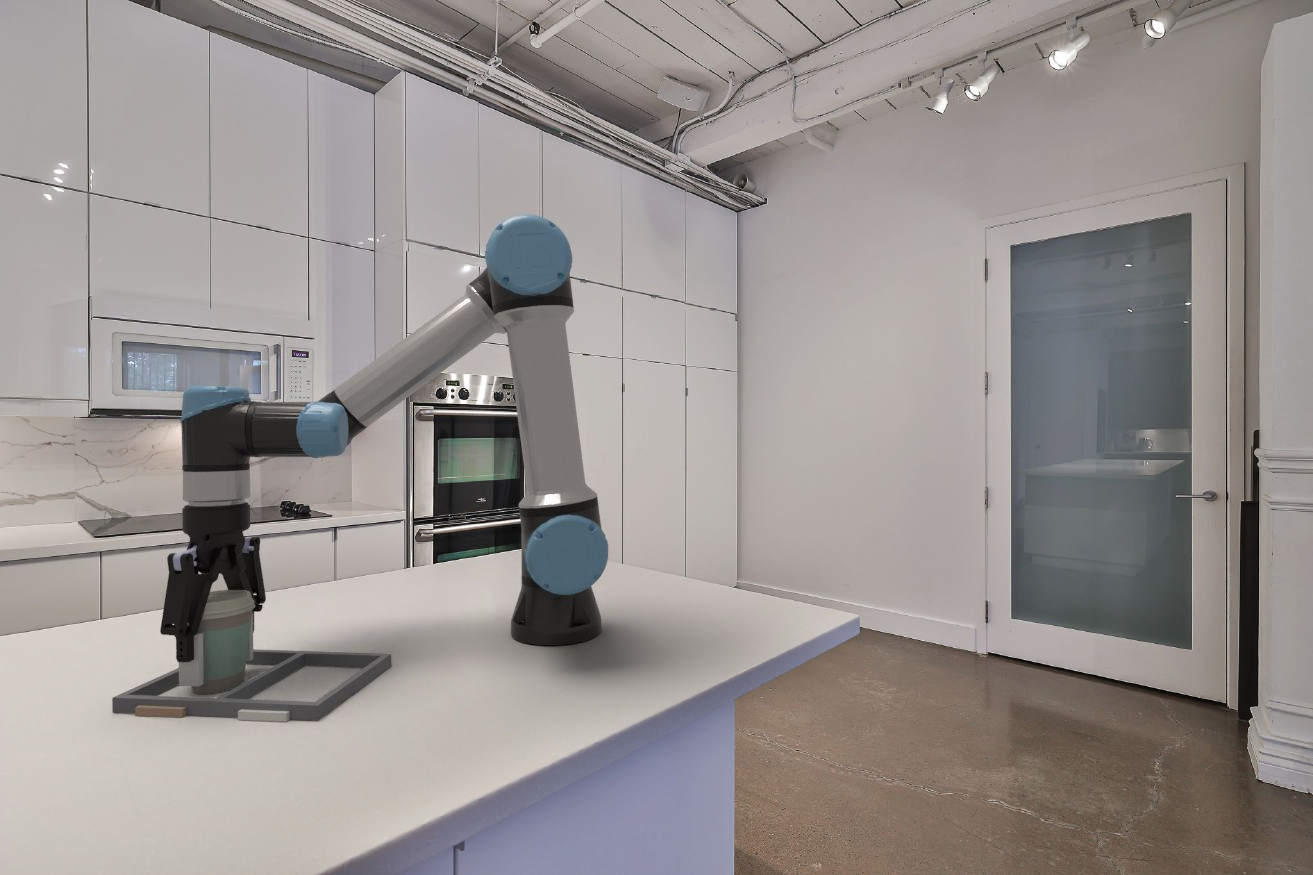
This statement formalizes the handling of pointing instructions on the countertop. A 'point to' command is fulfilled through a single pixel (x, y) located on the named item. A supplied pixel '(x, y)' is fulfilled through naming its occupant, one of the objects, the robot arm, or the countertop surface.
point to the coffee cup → (225, 639)
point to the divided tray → (257, 689)
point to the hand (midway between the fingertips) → (218, 671)
